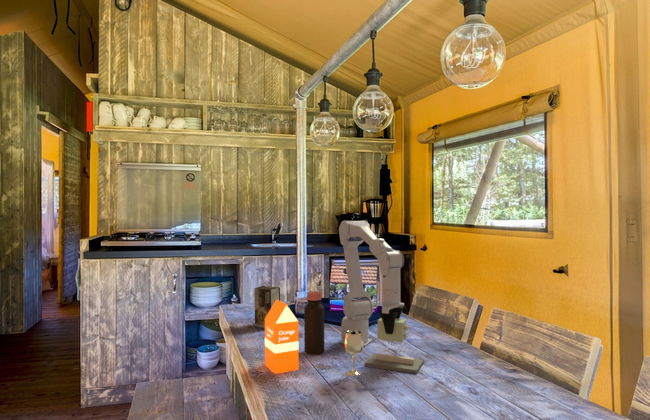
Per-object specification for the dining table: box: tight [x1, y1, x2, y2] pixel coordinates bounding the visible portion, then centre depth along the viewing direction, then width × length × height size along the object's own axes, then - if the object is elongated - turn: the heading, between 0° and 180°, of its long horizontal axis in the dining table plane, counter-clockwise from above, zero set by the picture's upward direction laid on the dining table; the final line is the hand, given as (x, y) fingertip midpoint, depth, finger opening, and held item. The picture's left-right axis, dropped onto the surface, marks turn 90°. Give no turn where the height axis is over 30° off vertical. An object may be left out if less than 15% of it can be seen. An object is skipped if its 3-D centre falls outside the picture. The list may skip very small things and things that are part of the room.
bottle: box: [303, 290, 325, 356], centre depth 149 cm, size 7×7×20 cm
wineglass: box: [343, 330, 364, 377], centre depth 129 cm, size 6×6×12 cm
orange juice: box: [264, 299, 300, 375], centre depth 135 cm, size 8×9×20 cm
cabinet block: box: [377, 317, 409, 343], centre depth 140 cm, size 9×5×6 cm, turn 66°
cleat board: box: [364, 352, 425, 374], centre depth 137 cm, size 16×10×2 cm, turn 66°
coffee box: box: [253, 285, 281, 329], centre depth 182 cm, size 9×6×16 cm
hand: (391, 331), depth 141 cm, fingers closed on cabinet block, 5 cm apart
